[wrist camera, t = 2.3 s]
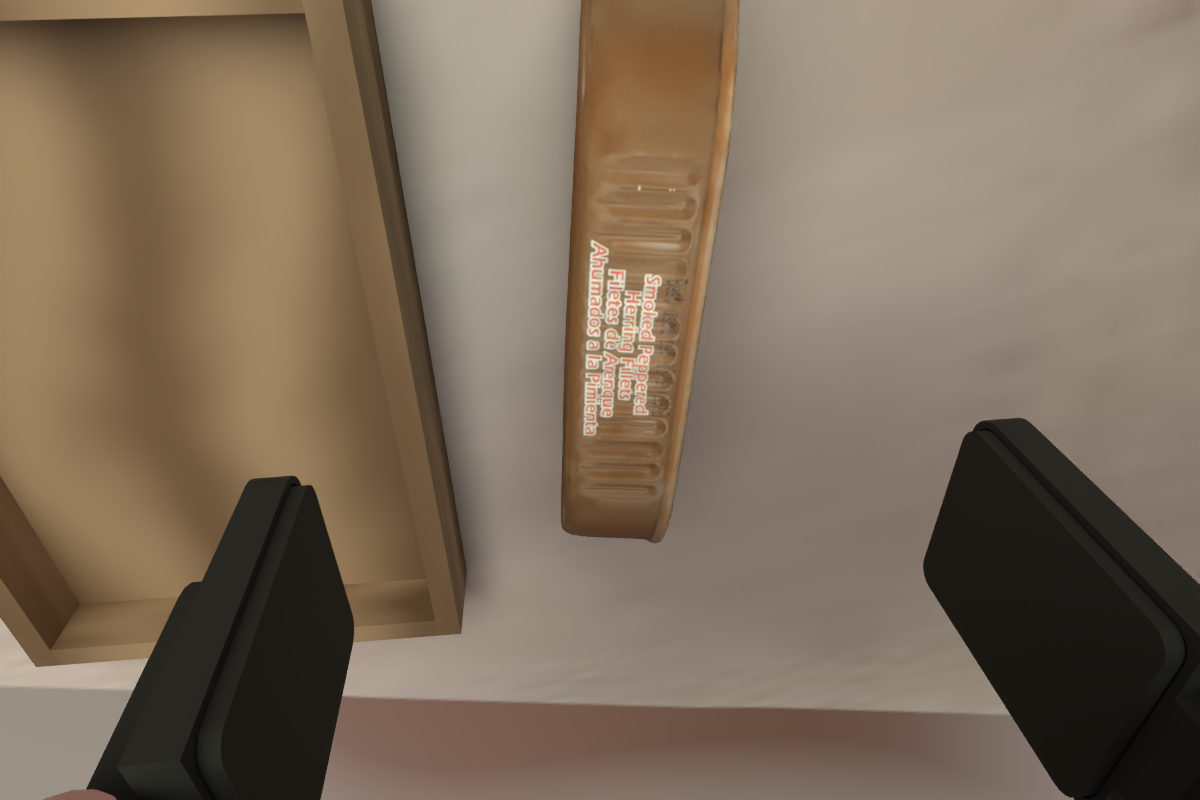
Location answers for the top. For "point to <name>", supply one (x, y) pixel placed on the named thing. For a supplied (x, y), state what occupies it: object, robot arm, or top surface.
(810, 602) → the top surface
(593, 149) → the tin
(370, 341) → the walnut tray
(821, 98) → the top surface
